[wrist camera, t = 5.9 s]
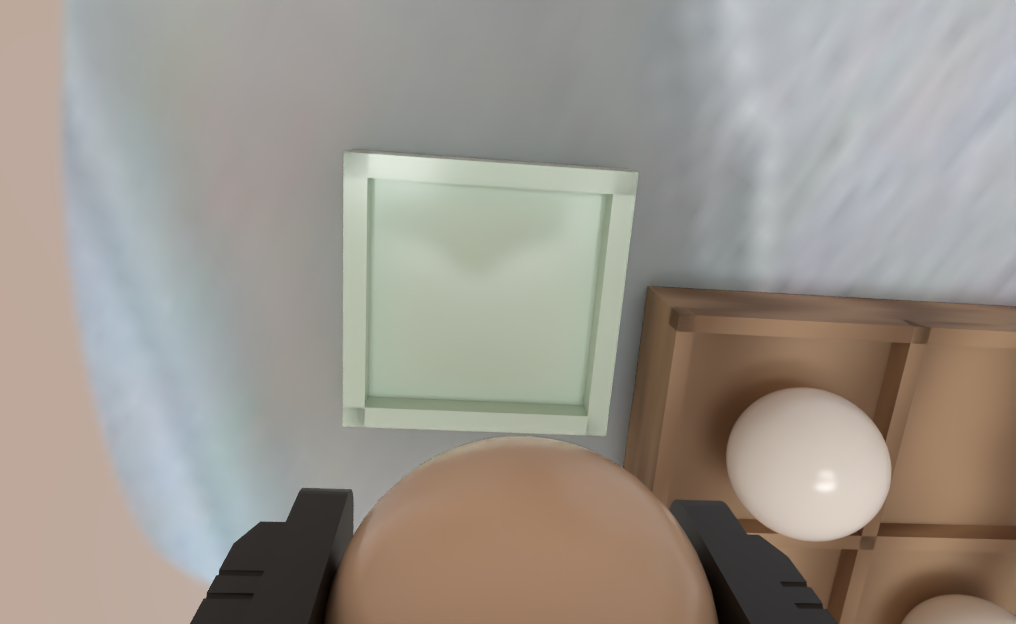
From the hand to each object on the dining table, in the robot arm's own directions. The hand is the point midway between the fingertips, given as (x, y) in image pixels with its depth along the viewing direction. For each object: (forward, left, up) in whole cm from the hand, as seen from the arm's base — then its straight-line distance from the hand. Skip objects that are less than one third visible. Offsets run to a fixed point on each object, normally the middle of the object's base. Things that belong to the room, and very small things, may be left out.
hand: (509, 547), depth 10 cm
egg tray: (-15, +8, -16) cm, 23 cm away
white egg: (-11, +4, -10) cm, 15 cm away
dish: (0, 0, -16) cm, 16 cm away
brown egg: (0, 0, +2) cm, 2 cm away
